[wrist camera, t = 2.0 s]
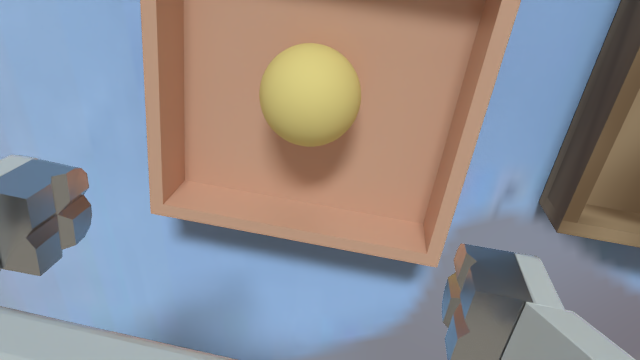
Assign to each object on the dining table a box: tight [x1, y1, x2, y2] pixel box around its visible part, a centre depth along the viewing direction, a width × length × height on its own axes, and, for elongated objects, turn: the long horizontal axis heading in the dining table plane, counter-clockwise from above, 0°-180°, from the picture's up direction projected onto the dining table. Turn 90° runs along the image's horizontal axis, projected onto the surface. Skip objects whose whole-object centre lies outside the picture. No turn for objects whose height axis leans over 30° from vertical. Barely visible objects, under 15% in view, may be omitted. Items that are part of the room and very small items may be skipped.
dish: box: [140, 0, 521, 267], centre depth 19 cm, size 13×13×3 cm
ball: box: [259, 43, 361, 147], centre depth 18 cm, size 4×4×4 cm
